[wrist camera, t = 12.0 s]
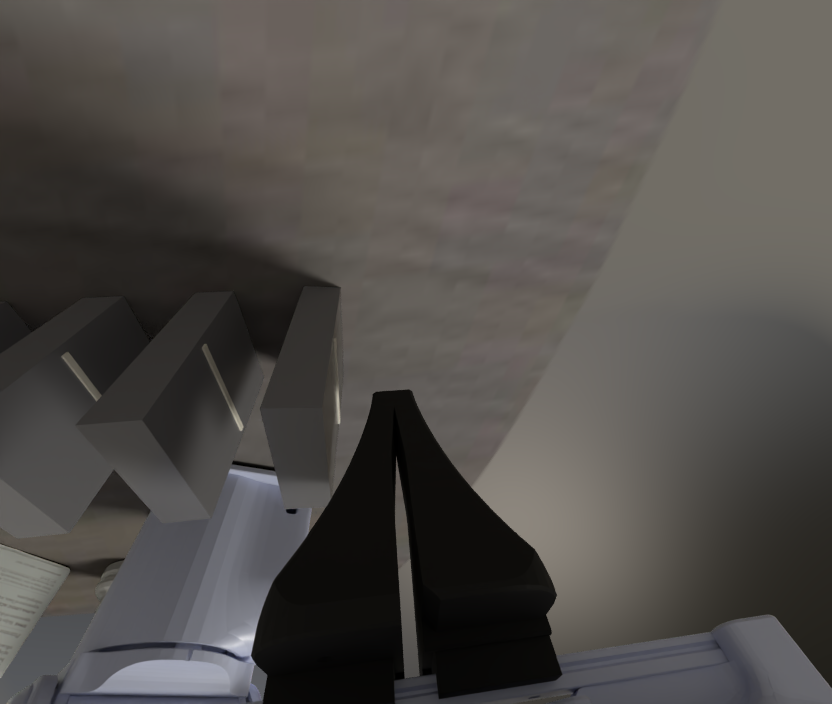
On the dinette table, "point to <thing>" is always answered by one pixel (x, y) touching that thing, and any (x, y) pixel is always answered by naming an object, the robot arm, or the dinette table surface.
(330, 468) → the domino
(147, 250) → the dinette table surface
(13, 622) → the skincare box
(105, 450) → the domino
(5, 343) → the domino
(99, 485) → the domino
